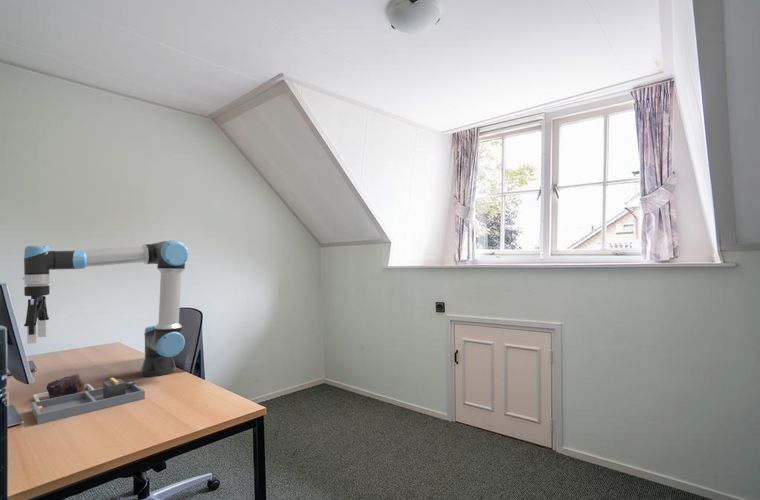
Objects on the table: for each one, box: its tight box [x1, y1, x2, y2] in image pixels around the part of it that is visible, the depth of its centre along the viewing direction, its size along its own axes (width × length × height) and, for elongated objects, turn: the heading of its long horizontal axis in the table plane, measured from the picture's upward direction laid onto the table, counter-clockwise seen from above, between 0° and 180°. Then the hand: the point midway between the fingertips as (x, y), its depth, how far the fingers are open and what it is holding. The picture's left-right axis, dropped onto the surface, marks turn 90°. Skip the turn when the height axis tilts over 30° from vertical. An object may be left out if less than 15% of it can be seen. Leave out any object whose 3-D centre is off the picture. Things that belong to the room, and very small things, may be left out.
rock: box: [45, 373, 85, 399], centre depth 166 cm, size 12×9×10 cm
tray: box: [33, 383, 95, 402], centre depth 166 cm, size 19×17×2 cm
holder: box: [31, 377, 146, 425], centre depth 157 cm, size 33×17×8 cm, turn 136°
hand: (37, 340), depth 157 cm, fingers open, 13 cm apart
